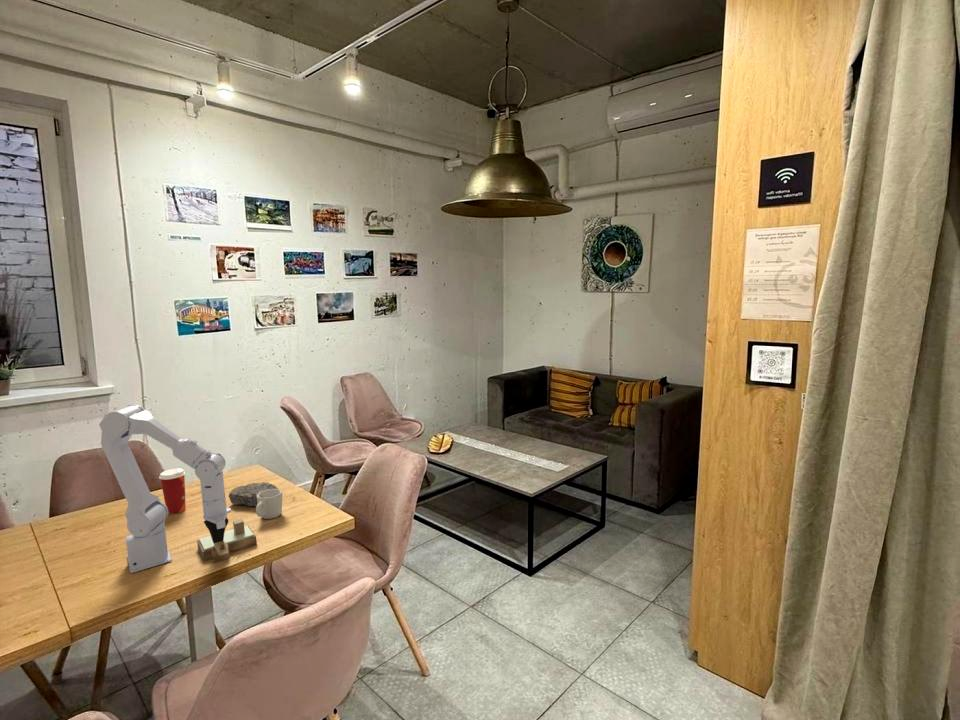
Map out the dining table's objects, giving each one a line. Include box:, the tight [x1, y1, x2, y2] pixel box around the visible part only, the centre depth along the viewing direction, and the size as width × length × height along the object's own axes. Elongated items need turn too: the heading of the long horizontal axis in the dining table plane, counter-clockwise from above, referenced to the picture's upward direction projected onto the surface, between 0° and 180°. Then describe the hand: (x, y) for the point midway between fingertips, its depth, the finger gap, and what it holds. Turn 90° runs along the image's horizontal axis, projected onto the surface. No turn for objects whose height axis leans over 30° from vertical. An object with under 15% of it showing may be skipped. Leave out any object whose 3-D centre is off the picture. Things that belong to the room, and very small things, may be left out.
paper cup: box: [158, 467, 187, 515], centre depth 172 cm, size 8×8×14 cm
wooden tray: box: [196, 525, 257, 564], centre depth 145 cm, size 14×12×3 cm
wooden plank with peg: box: [214, 541, 230, 556], centre depth 138 cm, size 2×6×2 cm, turn 39°
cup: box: [255, 488, 283, 520], centre depth 165 cm, size 11×8×8 cm
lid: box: [198, 518, 255, 551], centre depth 146 cm, size 13×8×4 cm, turn 128°
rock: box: [228, 481, 279, 508], centre depth 179 cm, size 13×6×15 cm
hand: (218, 543), depth 141 cm, fingers closed
